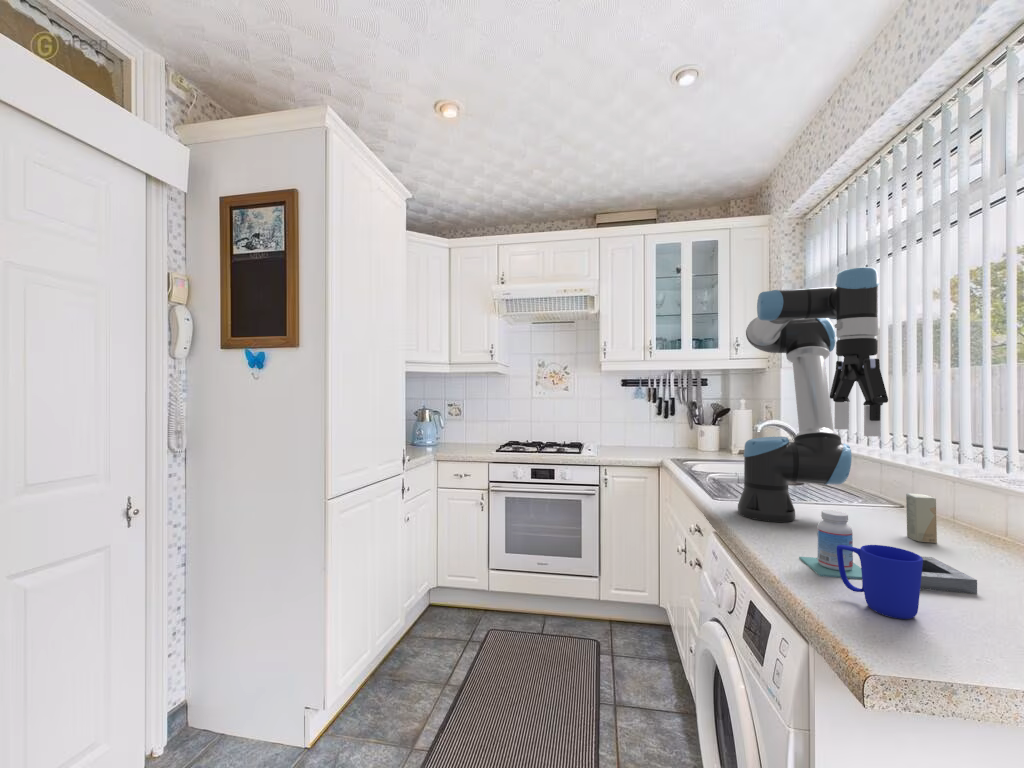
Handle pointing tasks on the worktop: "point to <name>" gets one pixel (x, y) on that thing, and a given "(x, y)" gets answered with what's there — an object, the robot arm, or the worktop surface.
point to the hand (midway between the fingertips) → (855, 432)
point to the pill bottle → (834, 539)
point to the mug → (887, 579)
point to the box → (921, 518)
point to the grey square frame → (945, 578)
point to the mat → (823, 571)
